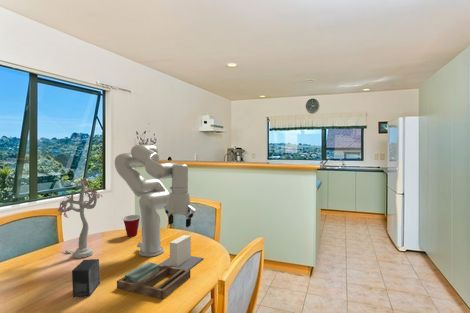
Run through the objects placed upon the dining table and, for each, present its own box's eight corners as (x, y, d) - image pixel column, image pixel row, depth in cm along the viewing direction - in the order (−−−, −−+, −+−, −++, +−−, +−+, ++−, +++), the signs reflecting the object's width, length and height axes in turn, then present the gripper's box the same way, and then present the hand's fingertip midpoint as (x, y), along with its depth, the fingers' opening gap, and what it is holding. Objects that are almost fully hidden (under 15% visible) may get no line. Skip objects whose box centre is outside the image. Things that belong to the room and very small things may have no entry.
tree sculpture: (38, 259, 143) (36, 179, 142) (78, 244, 165) (76, 175, 164) (81, 267, 134) (79, 181, 133) (117, 249, 156) (116, 176, 155)
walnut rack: (116, 288, 114) (116, 280, 114) (148, 269, 132) (148, 262, 132) (163, 299, 106) (163, 291, 106) (190, 276, 123) (190, 270, 123)
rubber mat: (156, 266, 134) (156, 265, 134) (176, 254, 149) (176, 253, 149) (186, 272, 128) (186, 270, 128) (203, 259, 143) (203, 257, 143)
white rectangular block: (170, 265, 134) (169, 242, 133) (183, 256, 145) (183, 234, 144) (177, 267, 132) (177, 243, 132) (190, 257, 143) (190, 235, 143)
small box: (84, 284, 118) (83, 259, 117) (100, 283, 118) (100, 258, 118) (71, 297, 107) (70, 270, 107) (89, 297, 108) (89, 269, 107)
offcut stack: (124, 286, 116) (124, 275, 115) (148, 271, 129) (147, 261, 129) (138, 289, 113) (138, 278, 113) (160, 274, 126) (160, 264, 126)
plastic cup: (119, 238, 177) (118, 218, 176) (128, 232, 187) (128, 214, 187) (135, 238, 175) (135, 219, 174) (143, 233, 186) (143, 215, 185)
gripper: (159, 189, 137) (159, 225, 138) (191, 192, 131) (191, 230, 132) (169, 187, 144) (168, 221, 145) (199, 190, 138) (199, 225, 139)
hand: (179, 225), depth 138 cm, fingers open, 9 cm apart
